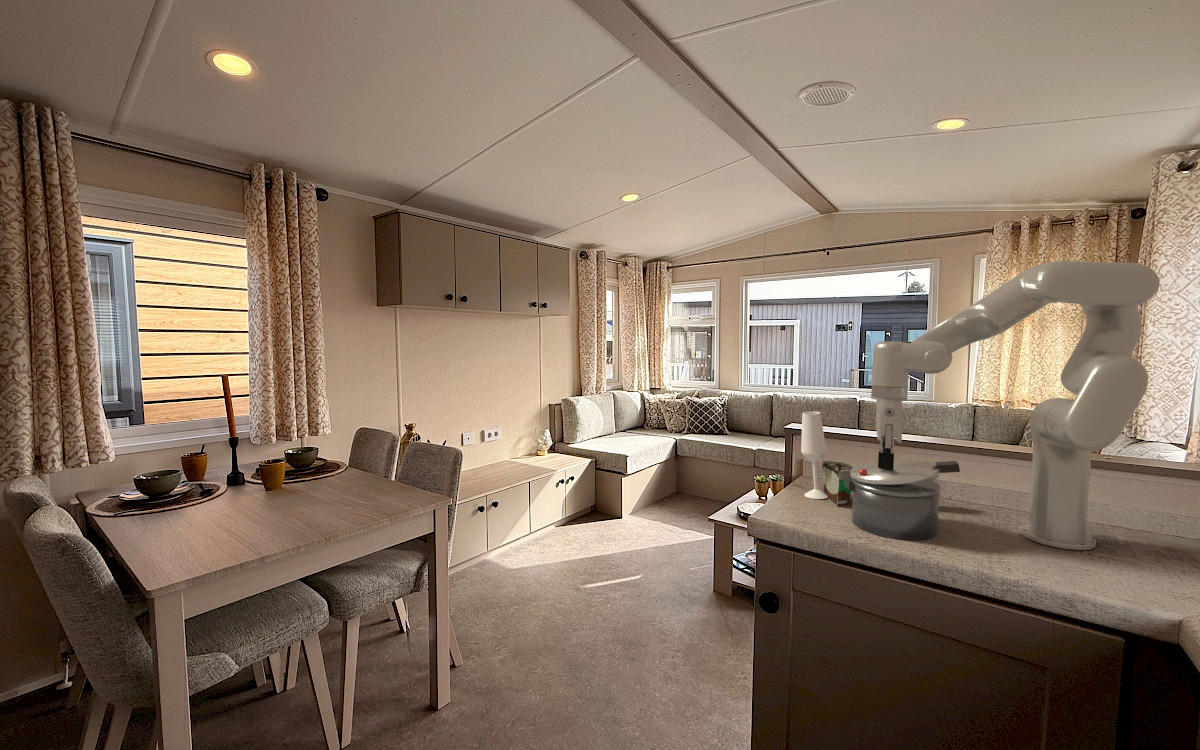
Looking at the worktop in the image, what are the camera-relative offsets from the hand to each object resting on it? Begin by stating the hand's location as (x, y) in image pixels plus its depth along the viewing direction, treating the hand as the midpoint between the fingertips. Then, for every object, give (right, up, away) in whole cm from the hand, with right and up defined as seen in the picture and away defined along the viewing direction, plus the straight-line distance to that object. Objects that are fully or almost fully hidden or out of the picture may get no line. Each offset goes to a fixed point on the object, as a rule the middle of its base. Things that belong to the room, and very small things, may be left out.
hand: (885, 468), depth 123 cm
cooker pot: (+2, -14, 0) cm, 14 cm away
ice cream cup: (-2, -13, +19) cm, 23 cm away
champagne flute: (-7, -12, +23) cm, 27 cm away
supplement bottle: (+18, -13, +12) cm, 26 cm away
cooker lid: (+3, -1, -1) cm, 4 cm away
